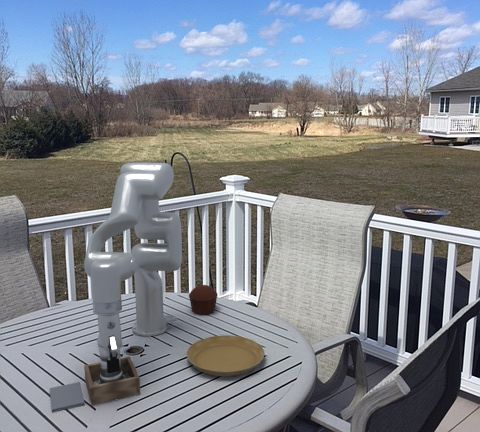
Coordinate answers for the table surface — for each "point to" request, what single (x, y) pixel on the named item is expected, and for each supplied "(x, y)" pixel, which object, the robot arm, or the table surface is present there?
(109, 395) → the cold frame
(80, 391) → the slate tile
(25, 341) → the table surface
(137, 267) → the robot arm
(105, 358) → the plastic bottle
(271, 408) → the table surface
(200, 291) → the muffin
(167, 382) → the table surface
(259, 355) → the plant saucer
